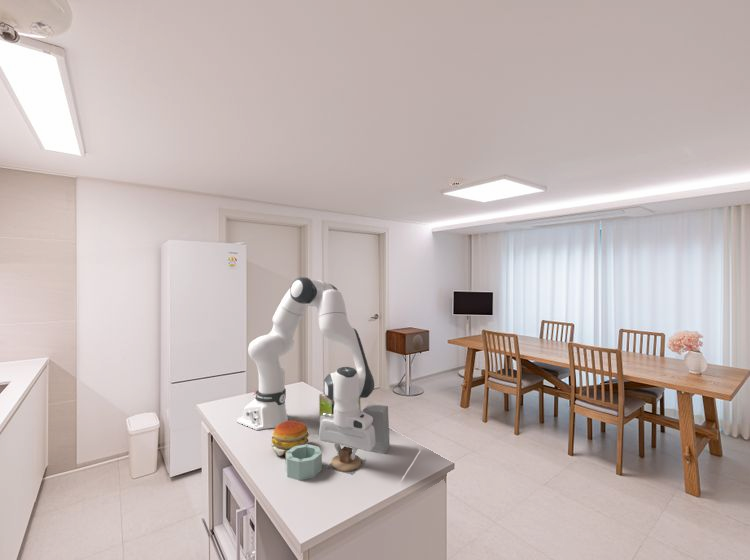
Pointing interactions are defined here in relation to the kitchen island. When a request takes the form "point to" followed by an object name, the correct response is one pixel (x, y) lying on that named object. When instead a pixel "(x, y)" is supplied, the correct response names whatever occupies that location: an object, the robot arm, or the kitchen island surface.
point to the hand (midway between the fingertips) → (346, 457)
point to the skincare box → (379, 427)
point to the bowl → (303, 462)
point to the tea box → (327, 404)
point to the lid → (345, 461)
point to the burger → (289, 436)
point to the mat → (346, 472)
